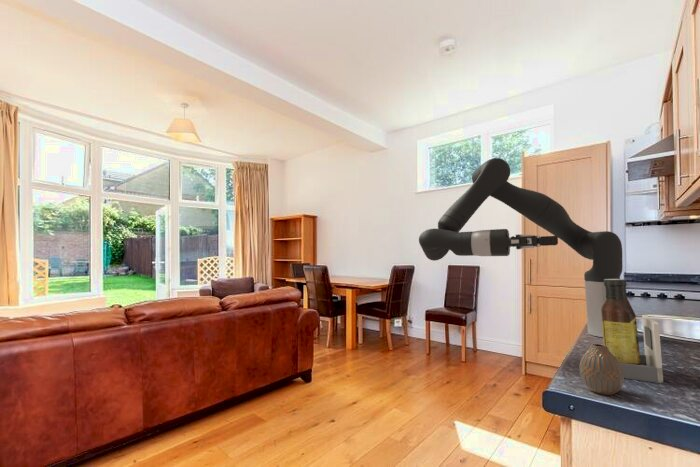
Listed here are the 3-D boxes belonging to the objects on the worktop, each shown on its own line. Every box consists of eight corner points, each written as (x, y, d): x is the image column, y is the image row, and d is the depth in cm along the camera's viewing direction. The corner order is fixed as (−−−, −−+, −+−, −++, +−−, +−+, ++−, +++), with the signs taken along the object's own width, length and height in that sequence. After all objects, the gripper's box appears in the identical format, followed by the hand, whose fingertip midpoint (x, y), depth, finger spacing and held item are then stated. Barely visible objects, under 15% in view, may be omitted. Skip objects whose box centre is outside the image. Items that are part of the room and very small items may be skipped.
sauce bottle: (647, 373, 72) (641, 280, 73) (614, 372, 73) (608, 280, 74) (629, 363, 78) (623, 278, 79) (599, 362, 79) (593, 278, 81)
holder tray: (590, 361, 83) (587, 312, 83) (650, 368, 77) (646, 315, 78) (595, 374, 74) (592, 319, 75) (663, 383, 68) (658, 323, 69)
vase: (610, 401, 61) (607, 351, 61) (572, 387, 67) (570, 343, 68) (633, 394, 64) (629, 347, 64) (594, 381, 70) (591, 339, 71)
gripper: (485, 228, 89) (557, 224, 81) (493, 230, 101) (556, 227, 93) (486, 256, 88) (559, 255, 80) (494, 255, 101) (558, 255, 92)
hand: (557, 240), depth 86 cm, fingers open, 8 cm apart
